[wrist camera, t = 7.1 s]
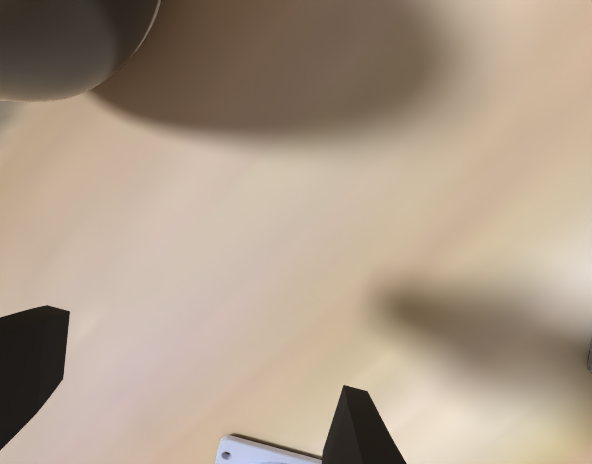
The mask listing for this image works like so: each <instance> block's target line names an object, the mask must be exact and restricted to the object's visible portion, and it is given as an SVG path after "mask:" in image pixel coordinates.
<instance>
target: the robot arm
mask: <svg viewBox="0 0 592 464" xmlns="http://www.w3.org/2000/svg"><path fill="white" fill-rule="evenodd" d="M69 315H70V311H66V310H63V309H59V308H55V307H51V306H48V305H47V306H42V307H37V308H33V309H29V310H25V311H22V312H18V313H14V314H11V315H8V316H4V317H1V318H0V450H1V449H2V448H3V447H4V446H5V445H6V444H7V443H8V442H9V441H10V440H11V439H12V438H13V437H14V436H15V435H16V434H17V433H18V432H19V431H20V430H21V429H22V428H23V427H24V426H25V425H26V424H27V423H28V422H29V421H30V420H31V419H32V418H33V417H34V415H35V414H36V413H37V412H38V411H39V410H40V409H41V407H42V406H43V405H44V403H45V402H46V401H47V400H48V398H49V397H50V396H51V394H52V393H53V392H54V390H55V389H56V388H57V386H58V385H59V384H60V382H61V381H62V380H63V375H64V365H65V355H66V345H67V335H68V325H69ZM225 452H229V453H230V454H226V453H225ZM215 464H406V462H405V460H404V459H403V457H402V455H401V453H400V452H399V450H398V448H397V446H396V445H395V443H394V441H393V439H392V437H391V436H390V434H389V432H388V430H387V428H386V426H385V424H384V422H383V421H382V419H381V417H380V415H379V413H378V411H377V409H376V407H375V405H374V403H373V401H372V399H371V397H370V395H369V393H368V392H367V391H364V390H360V389H357V388H353V387H349V386H345V385H344V386H343V389H342V392H341V395H340V398H339V402H338V405H337V408H336V411H335V414H334V417H333V421H332V424H331V427H330V430H329V433H328V437H327V440H326V443H325V446H324V449H323V456H322V460H319V459H316V458H312V457H308V456H305V455H301V454H297V453H293V452H290V451H286V450H282V449H279V448H275V447H271V446H268V445H264V444H260V443H257V442H253V441H249V440H246V439H242V438H238V437H235V436H230V435H227V436H224V437H223V438H222V439H221V441H220V444H219V448H218V452H217V457H216V461H215Z"/></svg>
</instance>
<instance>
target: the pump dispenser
mask: <svg viewBox="0 0 592 464" xmlns="http://www.w3.org/2000/svg"><path fill="white" fill-rule="evenodd" d="M160 2H161V0H0V100H4V101H15V102H47V101H55V100H61V99H66V98H70V97H73V96H76V95H79V94H81V93H84V92H86V91H88V90H90V89H92V88H94V87H96V86H98V85H99V84H101V83H103V82H104V81H106V80H107V79H108V78H110V77H111V76H112V75H113V74H114V73H116V72H117V71H118V70H119V69H120V68H121V67H122V66H123V65H124V64H125V63H126V62H127V60H128V59H129V58H130V57H131V56H132V55H133V54H134V52H135V51H136V50H137V49H138V48H139V46H140V45H141V44H142V42H143V41H144V39H145V38H146V36H147V34H148V33H149V31H150V29H151V27H152V25H153V22H154V20H155V18H156V15H157V12H158V9H159V6H160Z"/></svg>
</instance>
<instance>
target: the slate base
mask: <svg viewBox="0 0 592 464" xmlns="http://www.w3.org/2000/svg"><path fill="white" fill-rule="evenodd" d="M587 368H588V370H589V371H590V372H591V373H592V340H591V346H590V352H589V358H588V365H587Z"/></svg>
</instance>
